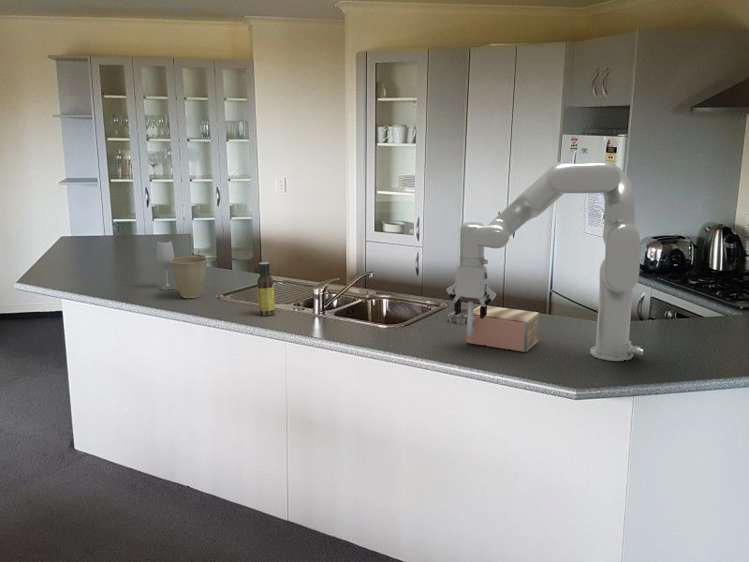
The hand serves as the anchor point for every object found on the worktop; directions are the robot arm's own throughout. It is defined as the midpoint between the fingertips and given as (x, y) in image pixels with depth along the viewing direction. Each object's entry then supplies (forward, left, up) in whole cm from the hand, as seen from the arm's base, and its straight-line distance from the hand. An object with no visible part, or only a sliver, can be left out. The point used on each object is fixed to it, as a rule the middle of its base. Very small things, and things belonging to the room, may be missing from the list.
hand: (470, 315), depth 224 cm
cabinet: (-8, -10, -11) cm, 16 cm away
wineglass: (+147, -12, -11) cm, 148 cm away
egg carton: (+14, -28, -11) cm, 33 cm away
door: (-8, -1, -10) cm, 13 cm away
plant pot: (+127, -6, -11) cm, 128 cm away
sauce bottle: (+82, 0, -11) cm, 83 cm away
